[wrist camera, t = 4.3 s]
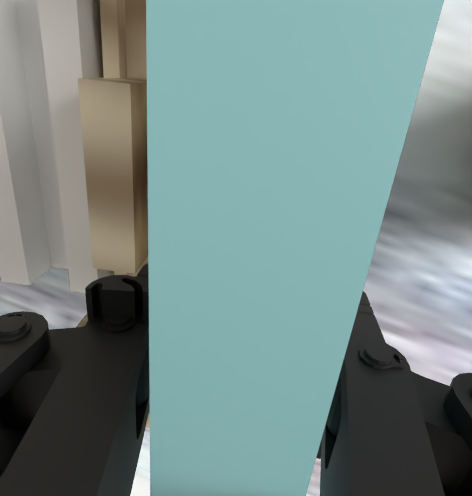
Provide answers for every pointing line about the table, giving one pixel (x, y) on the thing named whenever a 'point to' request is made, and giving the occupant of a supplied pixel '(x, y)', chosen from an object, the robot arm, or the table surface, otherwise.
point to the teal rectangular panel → (265, 221)
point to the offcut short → (116, 170)
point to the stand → (45, 138)
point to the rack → (123, 56)
